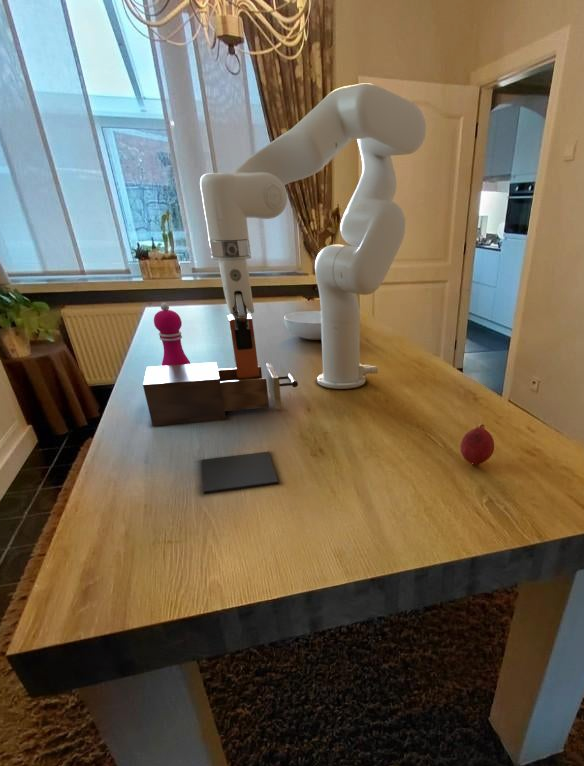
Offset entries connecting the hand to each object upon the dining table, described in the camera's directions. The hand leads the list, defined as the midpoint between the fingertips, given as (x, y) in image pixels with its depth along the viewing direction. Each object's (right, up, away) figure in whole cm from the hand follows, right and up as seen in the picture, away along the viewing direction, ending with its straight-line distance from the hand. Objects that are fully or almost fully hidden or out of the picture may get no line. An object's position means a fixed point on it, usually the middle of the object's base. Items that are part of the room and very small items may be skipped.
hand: (243, 344), depth 106 cm
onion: (+46, -28, -17) cm, 56 cm away
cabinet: (-13, -14, +4) cm, 19 cm away
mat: (+4, -29, -20) cm, 35 cm away
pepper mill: (-20, -5, +17) cm, 27 cm away
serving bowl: (+9, +24, +64) cm, 70 cm away
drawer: (+1, -11, +7) cm, 13 cm away
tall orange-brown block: (0, -5, +3) cm, 6 cm away
